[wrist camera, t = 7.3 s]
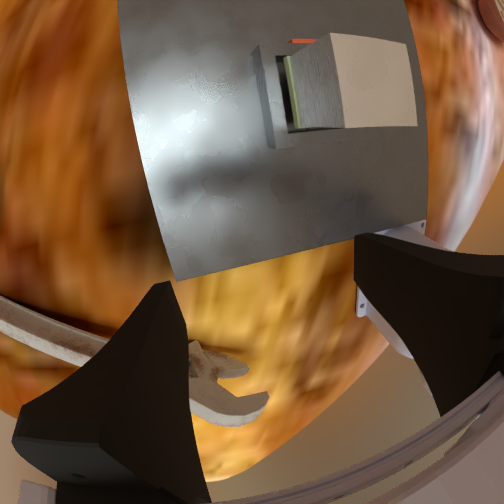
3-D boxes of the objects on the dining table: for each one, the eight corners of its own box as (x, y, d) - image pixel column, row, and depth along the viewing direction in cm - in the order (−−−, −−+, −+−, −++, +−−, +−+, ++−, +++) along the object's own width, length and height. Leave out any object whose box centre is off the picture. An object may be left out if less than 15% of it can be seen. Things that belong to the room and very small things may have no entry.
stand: (416, 214, 23) (440, 227, 20) (177, 271, 21) (175, 297, 18) (389, -9, 14) (413, -19, 11) (120, -6, 11) (110, -27, 8)
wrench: (-11, 270, 19) (261, 349, 25) (-8, 284, 20) (255, 362, 26) (-54, 308, 12) (274, 419, 18) (-49, 324, 13) (265, 431, 19)
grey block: (358, 123, 15) (419, 128, 10) (294, 128, 14) (343, 131, 10) (348, 59, 13) (406, 42, 8) (283, 58, 13) (326, 30, 8)
